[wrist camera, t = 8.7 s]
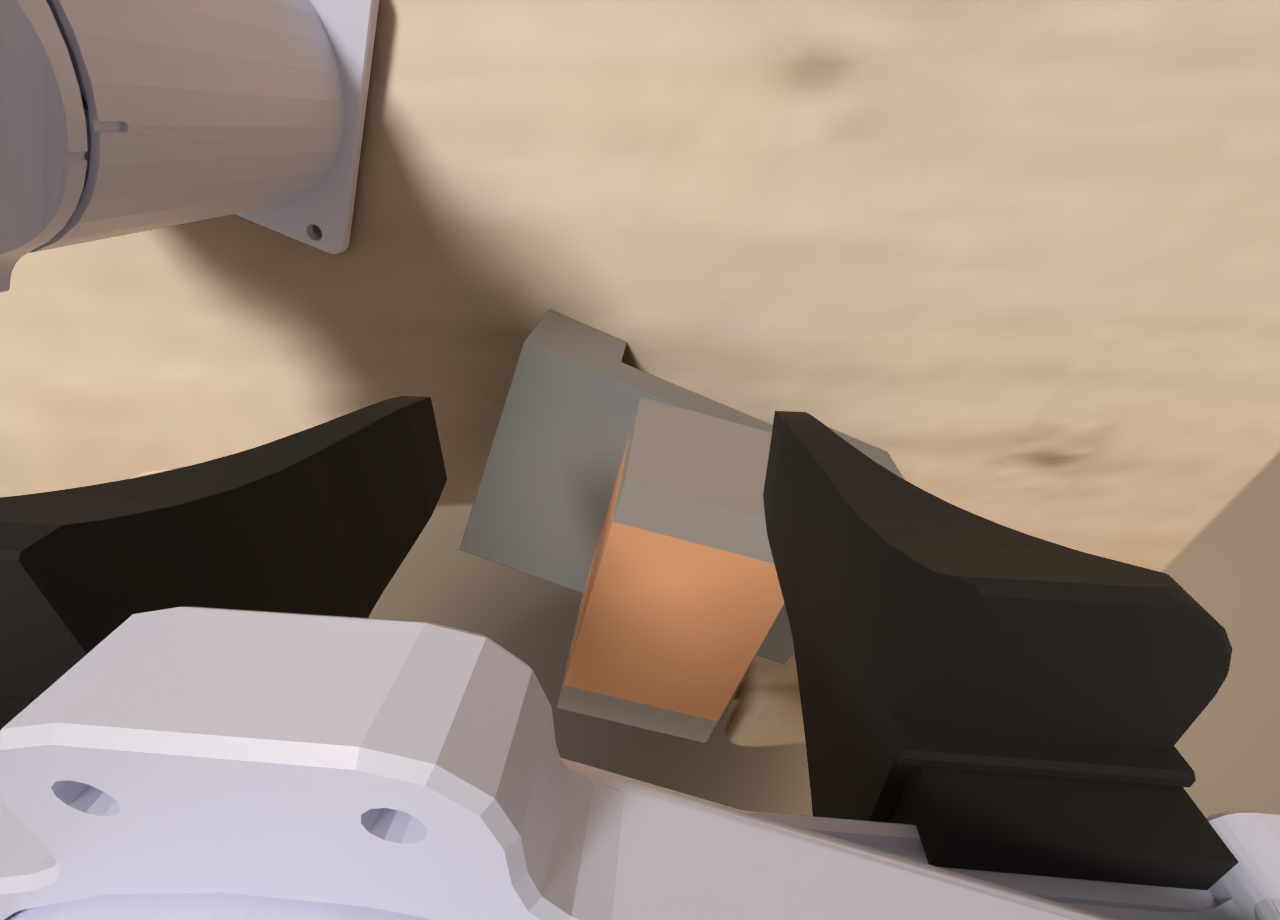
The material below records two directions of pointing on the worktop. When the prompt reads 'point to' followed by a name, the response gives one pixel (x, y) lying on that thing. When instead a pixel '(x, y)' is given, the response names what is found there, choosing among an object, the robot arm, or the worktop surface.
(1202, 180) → the worktop surface
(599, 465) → the stand
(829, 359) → the worktop surface
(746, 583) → the block
